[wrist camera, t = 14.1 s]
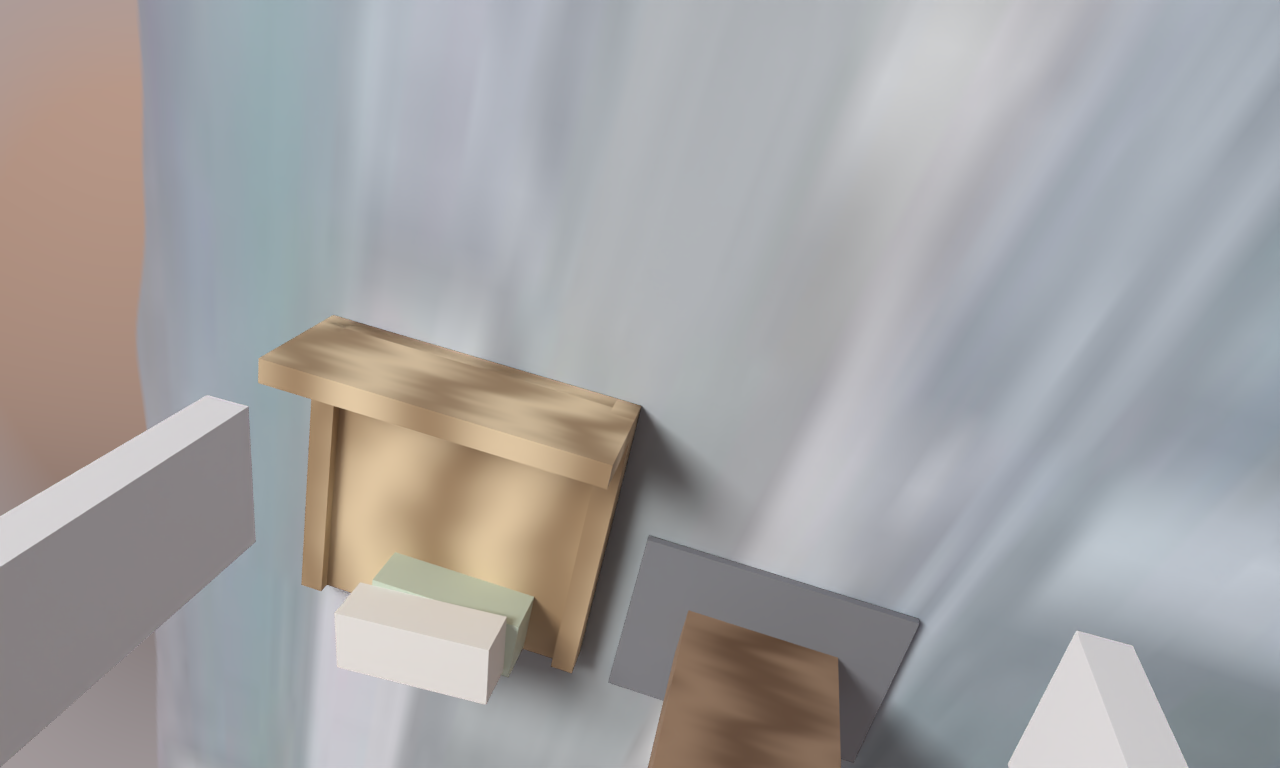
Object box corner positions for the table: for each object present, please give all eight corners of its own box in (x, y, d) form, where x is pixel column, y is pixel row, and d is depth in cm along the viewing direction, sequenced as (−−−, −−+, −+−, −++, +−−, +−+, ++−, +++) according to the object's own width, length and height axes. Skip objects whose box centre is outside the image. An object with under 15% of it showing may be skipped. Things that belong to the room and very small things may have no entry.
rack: (641, 405, 39) (612, 465, 34) (579, 653, 46) (547, 735, 41) (333, 315, 41) (258, 358, 35) (317, 567, 48) (252, 636, 42)
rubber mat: (918, 618, 41) (919, 623, 41) (852, 756, 45) (853, 762, 45) (648, 535, 42) (647, 539, 42) (609, 677, 46) (608, 682, 46)
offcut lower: (534, 596, 44) (518, 627, 42) (524, 645, 45) (508, 677, 43) (395, 552, 45) (372, 579, 42) (389, 601, 46) (367, 630, 44)
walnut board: (838, 657, 42) (843, 872, 31) (820, 699, 44) (819, 920, 33) (688, 610, 43) (643, 804, 32) (674, 652, 44) (627, 853, 33)
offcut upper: (506, 616, 42) (488, 650, 39) (503, 669, 43) (486, 704, 41) (360, 582, 43) (334, 612, 40) (361, 634, 44) (336, 667, 42)
